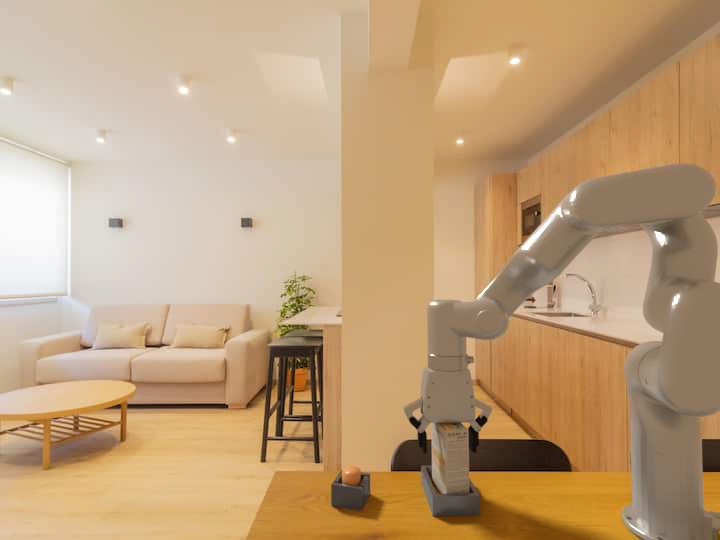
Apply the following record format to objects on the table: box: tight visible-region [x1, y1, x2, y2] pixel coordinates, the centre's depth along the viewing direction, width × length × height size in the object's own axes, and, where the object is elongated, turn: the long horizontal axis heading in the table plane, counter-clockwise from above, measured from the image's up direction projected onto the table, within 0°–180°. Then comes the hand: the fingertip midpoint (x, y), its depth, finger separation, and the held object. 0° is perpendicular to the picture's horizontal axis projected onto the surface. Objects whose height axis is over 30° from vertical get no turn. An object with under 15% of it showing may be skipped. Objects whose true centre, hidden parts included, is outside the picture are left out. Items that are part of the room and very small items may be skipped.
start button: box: [341, 465, 361, 486], centre depth 75 cm, size 4×4×4 cm
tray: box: [420, 464, 481, 517], centre depth 75 cm, size 9×12×4 cm
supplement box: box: [430, 423, 470, 494], centre depth 76 cm, size 8×5×13 cm, turn 9°
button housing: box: [330, 469, 371, 512], centre depth 75 cm, size 6×6×4 cm
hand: (448, 450), depth 76 cm, fingers open, 9 cm apart
